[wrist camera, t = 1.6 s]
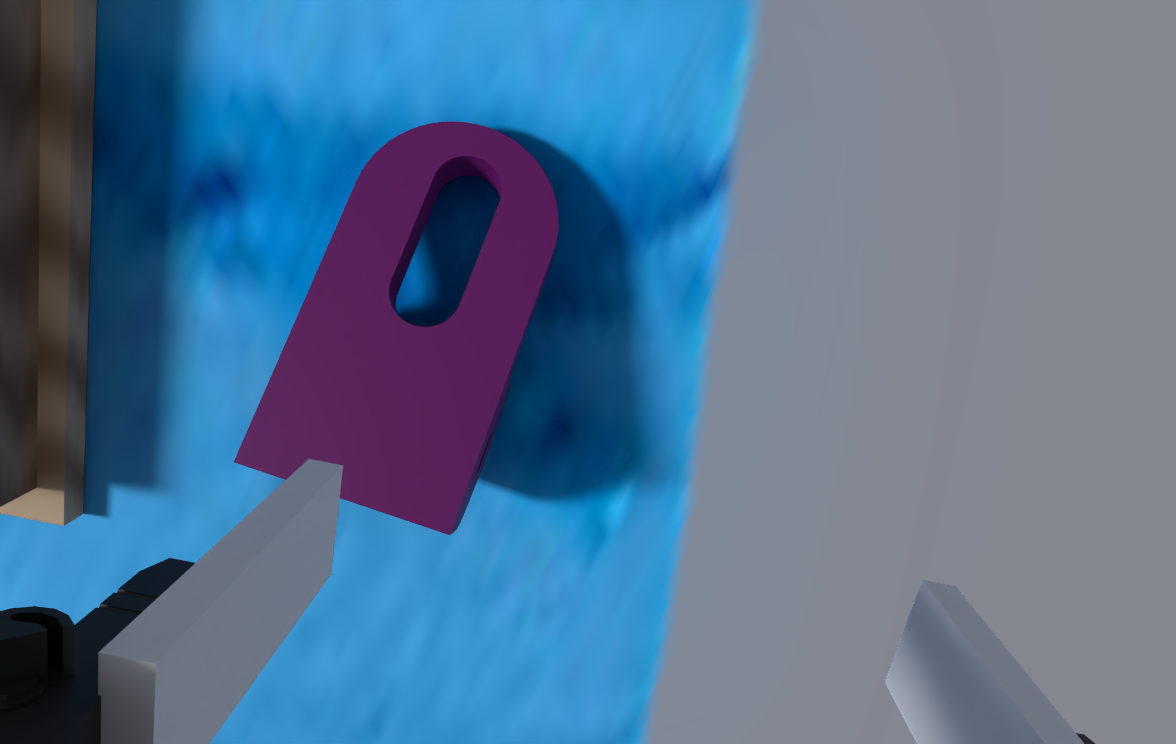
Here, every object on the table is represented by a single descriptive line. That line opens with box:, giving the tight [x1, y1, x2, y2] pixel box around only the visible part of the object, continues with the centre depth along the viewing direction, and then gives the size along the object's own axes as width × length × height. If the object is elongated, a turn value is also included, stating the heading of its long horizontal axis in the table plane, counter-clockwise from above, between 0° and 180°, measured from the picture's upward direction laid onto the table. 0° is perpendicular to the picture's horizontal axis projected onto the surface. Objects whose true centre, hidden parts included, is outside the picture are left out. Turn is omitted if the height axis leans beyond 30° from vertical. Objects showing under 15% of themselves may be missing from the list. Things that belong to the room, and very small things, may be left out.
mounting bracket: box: [234, 122, 558, 535], centre depth 36 cm, size 9×8×18 cm
